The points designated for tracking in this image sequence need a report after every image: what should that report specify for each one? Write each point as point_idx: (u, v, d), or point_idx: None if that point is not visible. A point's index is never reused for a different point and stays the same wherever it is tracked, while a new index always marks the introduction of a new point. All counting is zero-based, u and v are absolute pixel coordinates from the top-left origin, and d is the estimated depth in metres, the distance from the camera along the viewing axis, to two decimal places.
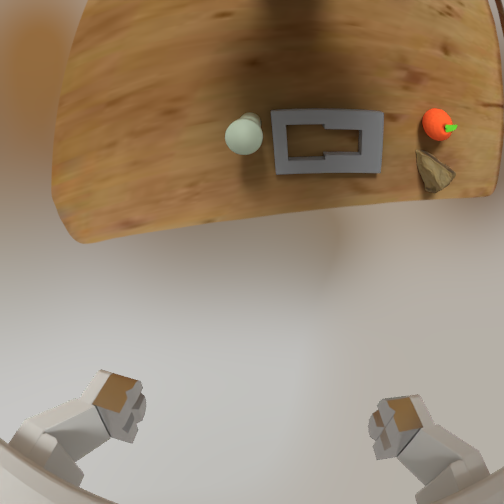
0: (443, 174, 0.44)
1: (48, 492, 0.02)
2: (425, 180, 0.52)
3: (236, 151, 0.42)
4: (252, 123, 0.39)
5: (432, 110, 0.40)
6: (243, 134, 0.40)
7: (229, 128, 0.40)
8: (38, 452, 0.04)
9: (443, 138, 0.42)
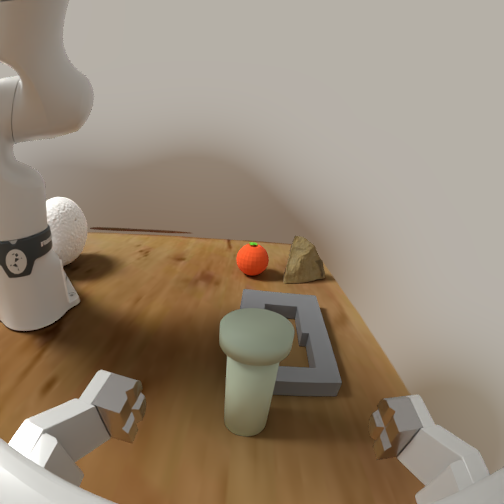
0: (299, 244, 0.60)
1: (48, 492, 0.02)
2: (313, 276, 0.61)
3: (286, 340, 0.20)
4: (231, 313, 0.23)
5: (238, 259, 0.59)
6: (250, 326, 0.21)
7: (232, 339, 0.19)
8: (38, 452, 0.04)
9: (264, 249, 0.60)
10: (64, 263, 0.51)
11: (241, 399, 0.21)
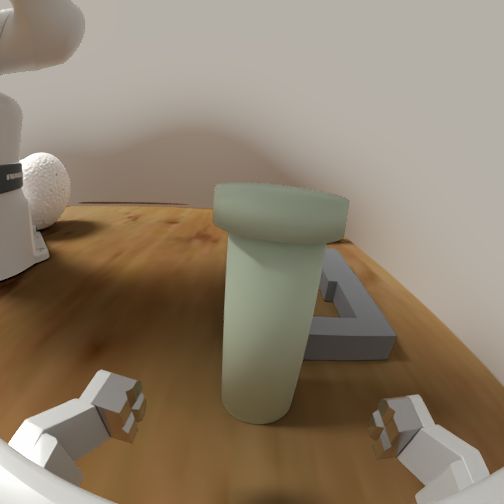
0: None
1: (48, 492, 0.02)
2: None
3: (340, 200, 0.10)
4: (236, 183, 0.13)
5: None
6: (270, 189, 0.12)
7: (238, 191, 0.10)
8: (38, 452, 0.04)
9: None
10: (41, 224, 0.42)
11: (253, 343, 0.12)
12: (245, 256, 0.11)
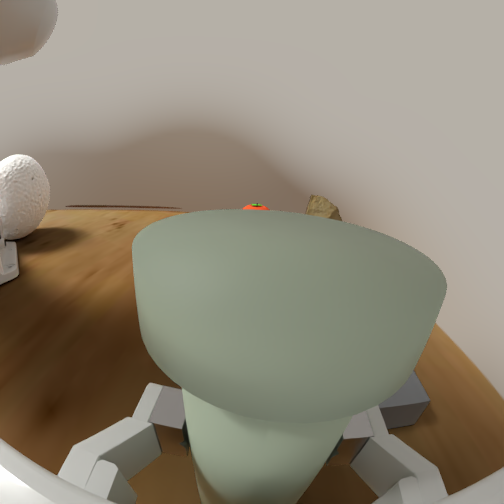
0: (317, 205, 0.44)
1: (48, 492, 0.02)
2: None
3: (431, 277, 0.04)
4: (200, 214, 0.07)
5: None
6: (266, 237, 0.05)
7: (169, 271, 0.03)
8: (97, 482, 0.04)
9: None
10: (17, 234, 0.35)
11: (233, 492, 0.05)
12: None
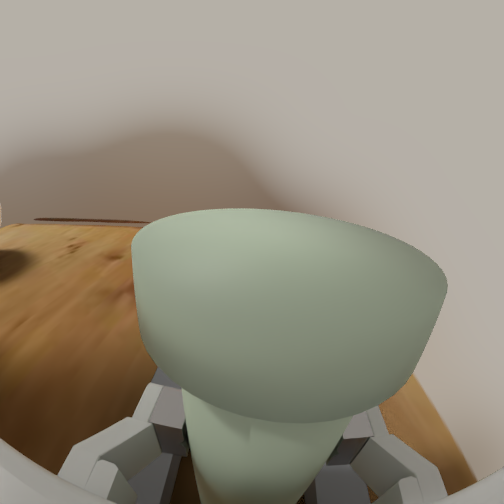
0: None
1: (48, 492, 0.02)
2: None
3: (432, 277, 0.04)
4: (199, 213, 0.07)
5: None
6: (266, 236, 0.05)
7: (168, 270, 0.03)
8: (97, 482, 0.04)
9: None
10: None
11: (234, 492, 0.05)
12: None
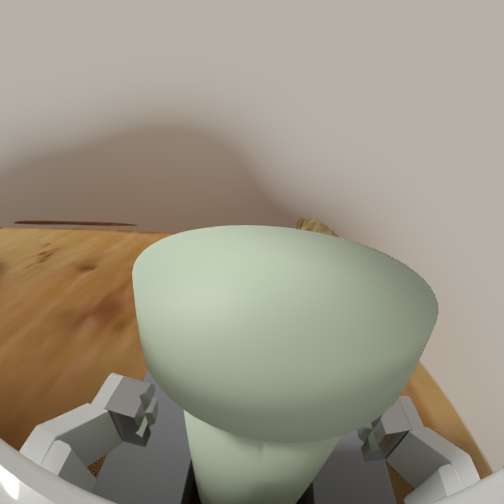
0: None
1: (48, 492, 0.02)
2: None
3: (423, 303, 0.04)
4: (198, 232, 0.07)
5: None
6: (263, 260, 0.05)
7: (169, 305, 0.03)
8: (51, 460, 0.04)
9: None
10: None
11: (232, 497, 0.05)
12: None
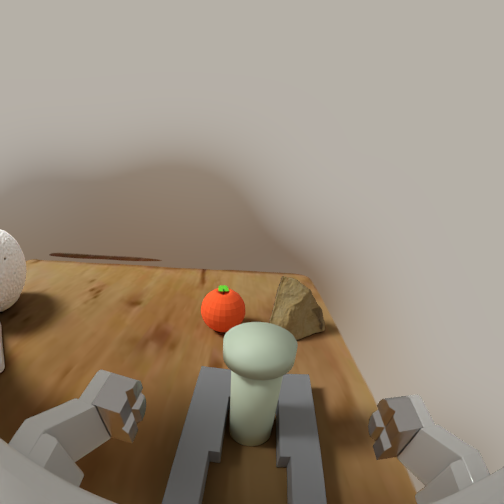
0: (288, 289, 0.42)
1: (48, 492, 0.02)
2: (309, 329, 0.43)
3: (289, 354, 0.20)
4: (235, 328, 0.23)
5: (202, 311, 0.41)
6: (253, 341, 0.21)
7: (236, 355, 0.19)
8: (38, 452, 0.04)
9: (238, 296, 0.42)
10: (0, 309, 0.34)
11: (246, 411, 0.21)
12: (240, 377, 0.20)
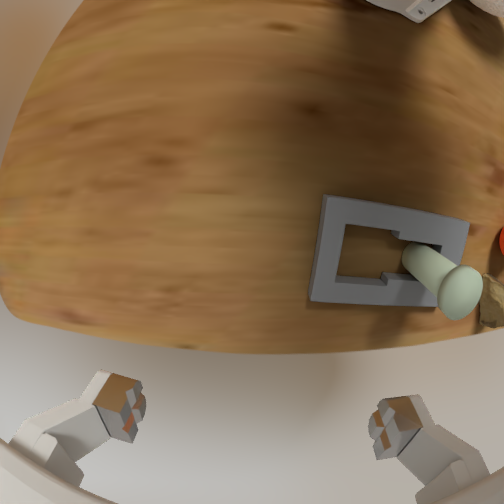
0: None
1: (48, 492, 0.02)
2: (483, 312, 0.35)
3: (448, 314, 0.23)
4: (479, 277, 0.21)
5: None
6: (466, 291, 0.22)
7: (457, 279, 0.22)
8: (38, 452, 0.04)
9: None
10: None
11: (424, 266, 0.28)
12: (445, 274, 0.24)
